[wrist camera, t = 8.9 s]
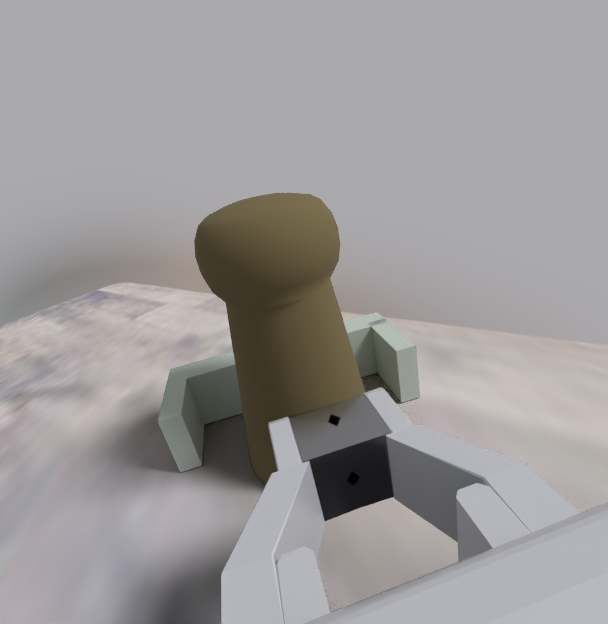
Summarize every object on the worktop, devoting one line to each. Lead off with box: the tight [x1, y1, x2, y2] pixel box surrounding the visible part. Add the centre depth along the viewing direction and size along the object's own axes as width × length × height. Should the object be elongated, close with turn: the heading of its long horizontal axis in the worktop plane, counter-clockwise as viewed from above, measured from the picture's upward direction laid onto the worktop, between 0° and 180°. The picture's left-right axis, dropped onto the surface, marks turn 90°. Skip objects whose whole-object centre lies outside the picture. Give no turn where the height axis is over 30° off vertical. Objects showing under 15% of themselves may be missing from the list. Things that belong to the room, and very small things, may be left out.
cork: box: [195, 193, 365, 485], centre depth 15 cm, size 6×6×11 cm
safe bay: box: [158, 312, 420, 472], centre depth 19 cm, size 12×4×3 cm, turn 103°
